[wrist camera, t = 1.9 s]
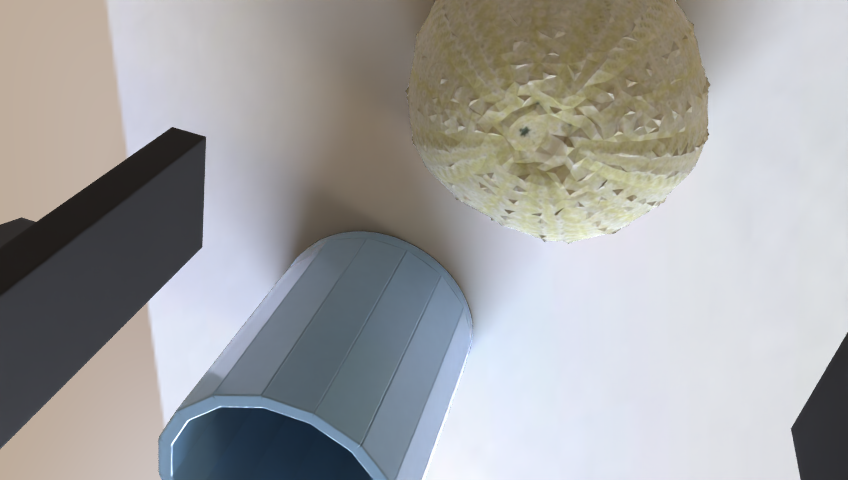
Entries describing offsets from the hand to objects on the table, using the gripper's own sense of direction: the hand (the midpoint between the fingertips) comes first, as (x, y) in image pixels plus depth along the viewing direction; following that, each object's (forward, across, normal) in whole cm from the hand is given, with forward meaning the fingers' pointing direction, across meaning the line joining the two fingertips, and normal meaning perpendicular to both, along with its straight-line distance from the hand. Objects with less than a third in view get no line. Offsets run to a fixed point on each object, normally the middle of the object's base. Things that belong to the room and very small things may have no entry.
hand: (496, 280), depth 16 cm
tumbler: (+12, -5, -12) cm, 18 cm away
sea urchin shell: (+12, 0, 0) cm, 13 cm away
